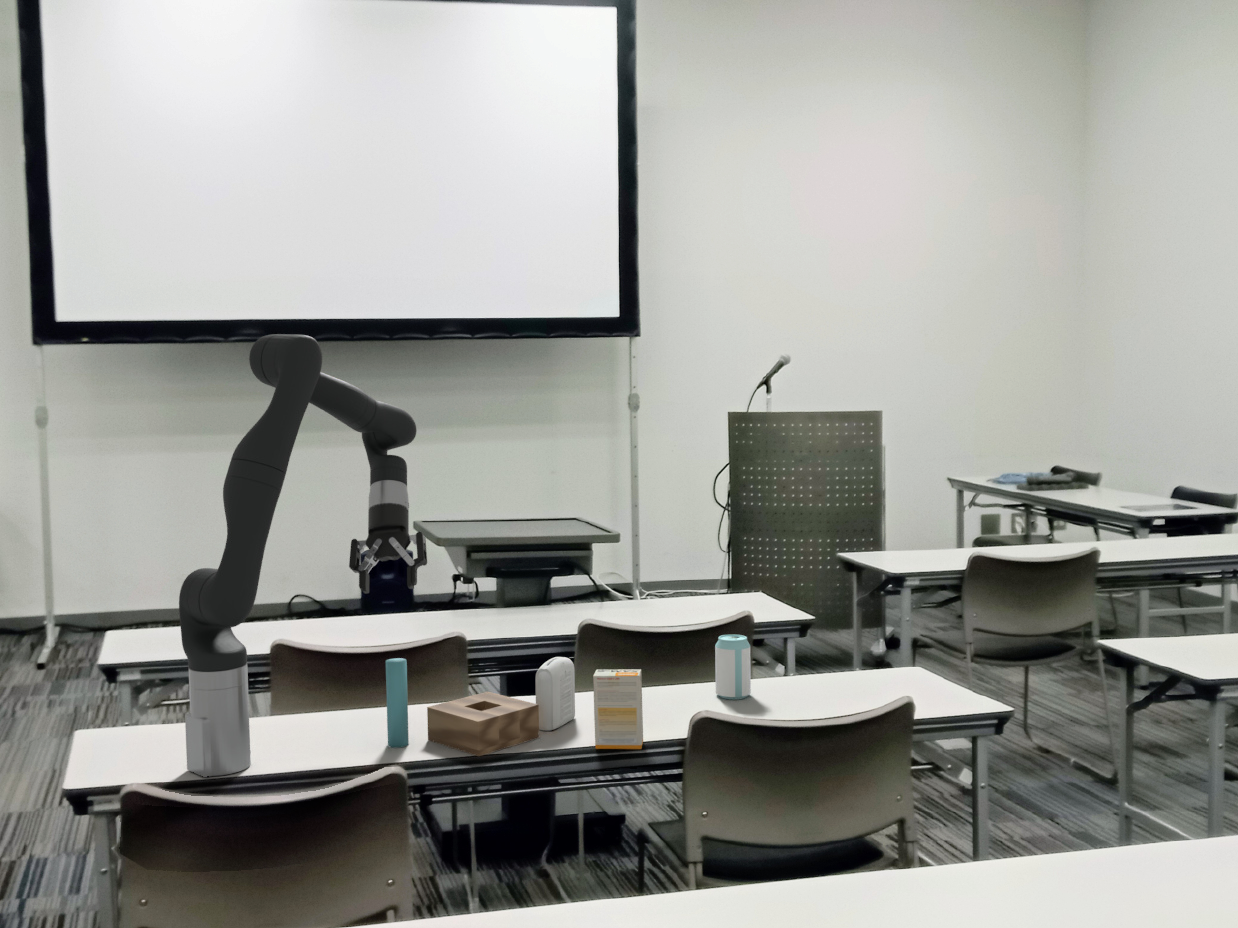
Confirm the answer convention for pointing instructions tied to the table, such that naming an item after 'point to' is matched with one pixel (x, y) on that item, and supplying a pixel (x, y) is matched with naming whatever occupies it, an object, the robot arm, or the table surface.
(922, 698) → the table surface
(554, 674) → the photo printer
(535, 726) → the socket block
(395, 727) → the pin
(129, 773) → the table surface
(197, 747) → the robot arm
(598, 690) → the supplement box
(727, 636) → the can
